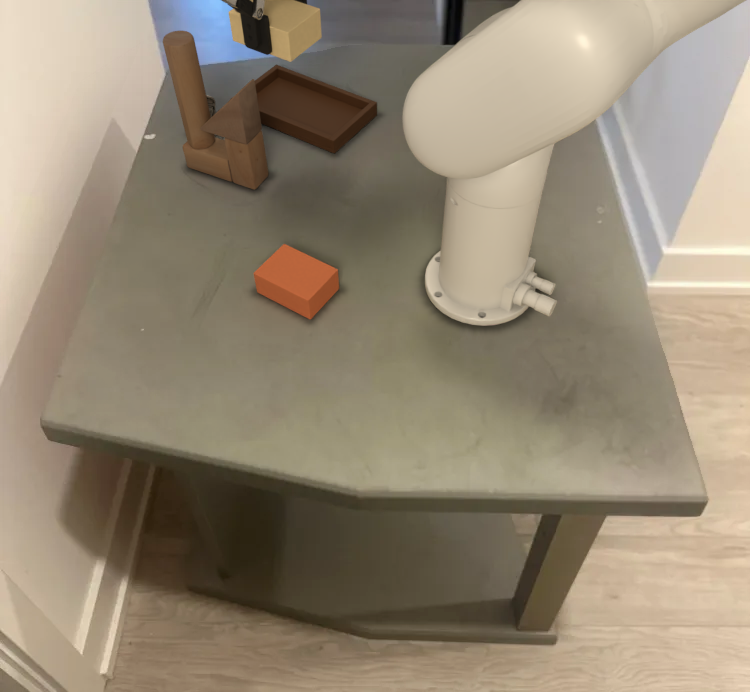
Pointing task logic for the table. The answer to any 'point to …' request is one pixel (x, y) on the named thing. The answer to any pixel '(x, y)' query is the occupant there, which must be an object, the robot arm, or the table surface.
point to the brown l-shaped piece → (216, 120)
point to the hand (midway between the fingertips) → (277, 34)
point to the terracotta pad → (297, 281)
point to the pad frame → (311, 108)
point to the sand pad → (285, 27)
